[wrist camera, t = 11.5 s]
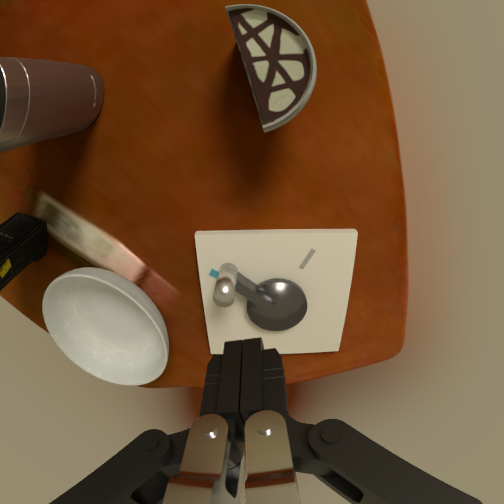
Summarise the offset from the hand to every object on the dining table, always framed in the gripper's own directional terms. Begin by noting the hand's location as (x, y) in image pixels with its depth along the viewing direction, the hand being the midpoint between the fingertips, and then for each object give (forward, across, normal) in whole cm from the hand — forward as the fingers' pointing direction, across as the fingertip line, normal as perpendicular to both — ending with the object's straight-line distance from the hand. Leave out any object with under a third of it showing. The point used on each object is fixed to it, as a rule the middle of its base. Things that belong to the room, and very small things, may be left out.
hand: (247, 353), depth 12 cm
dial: (+24, +1, +13) cm, 27 cm away
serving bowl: (+26, +25, +14) cm, 39 cm away
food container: (+26, -5, -13) cm, 30 cm away
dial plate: (+26, -1, +15) cm, 30 cm away
